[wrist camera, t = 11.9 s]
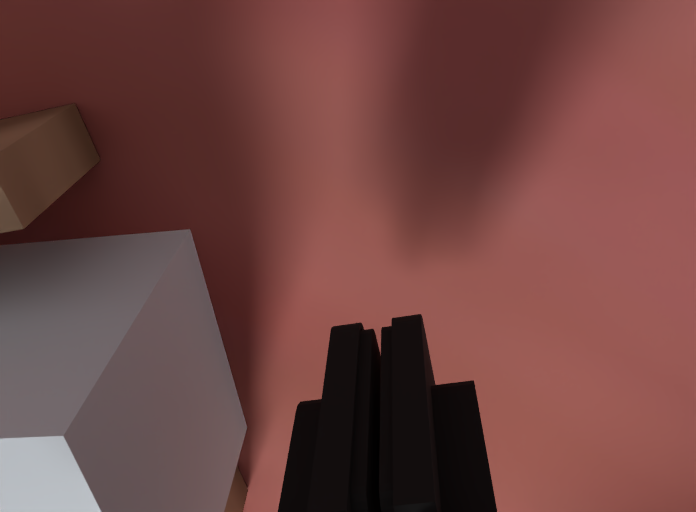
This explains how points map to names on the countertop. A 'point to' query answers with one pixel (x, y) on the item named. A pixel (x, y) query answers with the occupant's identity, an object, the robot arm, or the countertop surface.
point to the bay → (53, 184)
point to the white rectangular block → (113, 379)
